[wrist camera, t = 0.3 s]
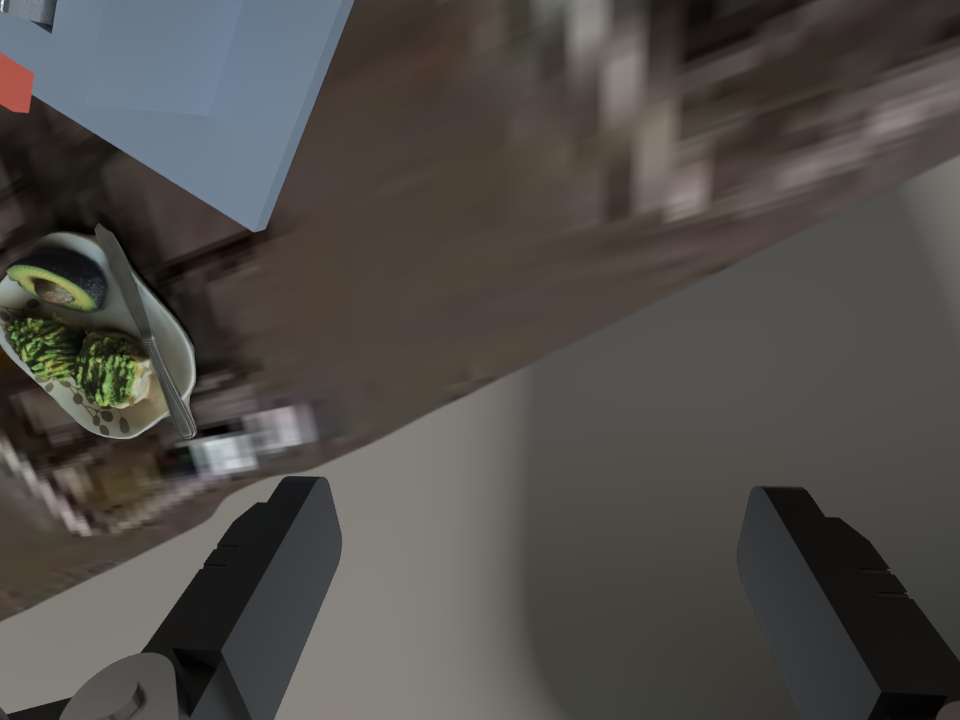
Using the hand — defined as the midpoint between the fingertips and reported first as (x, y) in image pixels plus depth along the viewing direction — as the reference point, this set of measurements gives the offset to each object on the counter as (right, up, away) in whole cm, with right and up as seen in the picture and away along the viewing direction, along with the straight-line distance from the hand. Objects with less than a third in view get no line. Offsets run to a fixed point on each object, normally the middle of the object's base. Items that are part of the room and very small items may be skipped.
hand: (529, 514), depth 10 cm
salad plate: (-33, +6, +35) cm, 48 cm away
